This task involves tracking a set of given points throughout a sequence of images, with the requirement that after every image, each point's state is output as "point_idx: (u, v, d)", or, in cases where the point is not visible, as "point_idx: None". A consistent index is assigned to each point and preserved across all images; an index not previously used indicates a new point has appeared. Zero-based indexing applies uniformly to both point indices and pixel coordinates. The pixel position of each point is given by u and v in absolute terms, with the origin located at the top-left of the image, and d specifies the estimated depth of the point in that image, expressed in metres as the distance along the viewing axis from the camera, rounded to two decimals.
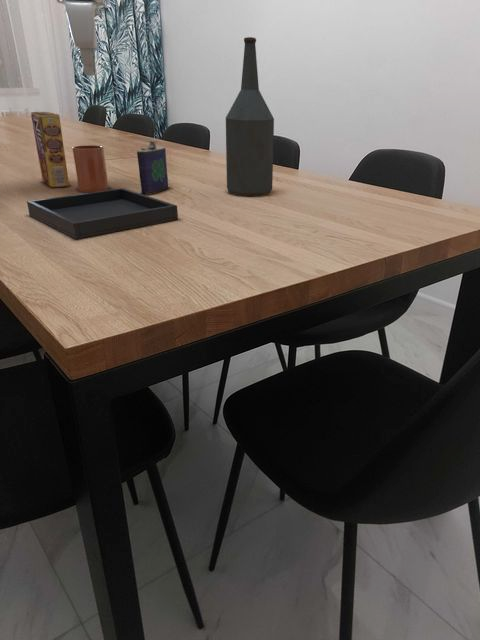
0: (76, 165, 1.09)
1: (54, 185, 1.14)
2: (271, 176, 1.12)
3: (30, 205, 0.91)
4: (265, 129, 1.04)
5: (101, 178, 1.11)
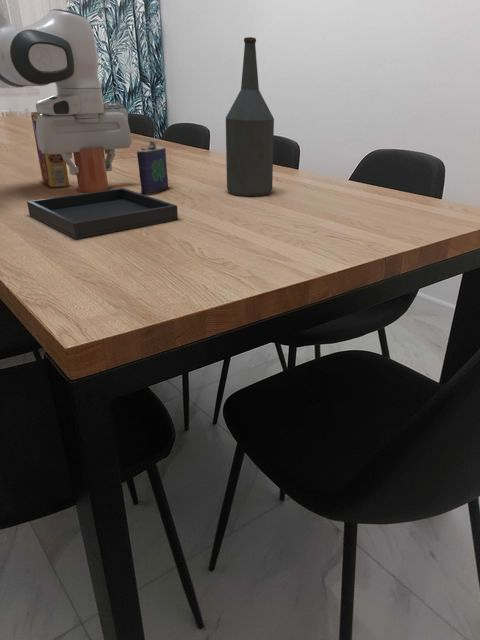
0: (76, 165, 1.09)
1: (54, 185, 1.14)
2: (271, 176, 1.12)
3: (30, 205, 0.91)
4: (265, 129, 1.04)
5: (101, 178, 1.11)
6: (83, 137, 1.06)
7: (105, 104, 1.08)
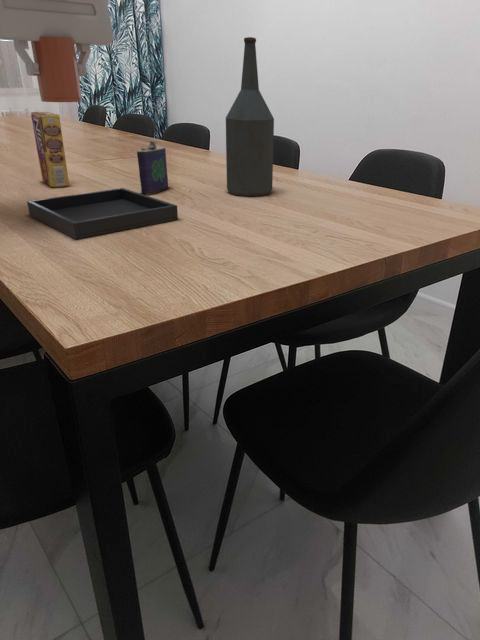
0: (36, 62, 0.79)
1: (54, 185, 1.14)
2: (271, 176, 1.12)
3: (30, 205, 0.91)
4: (265, 129, 1.04)
5: (71, 82, 0.81)
6: (43, 20, 0.76)
7: None
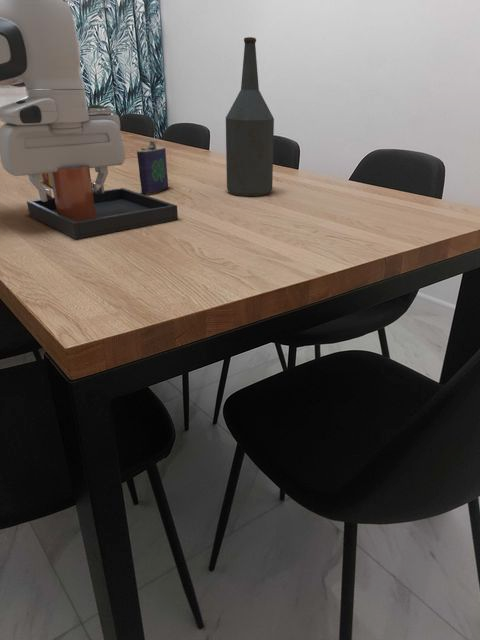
0: (54, 189, 0.85)
1: None
2: (271, 176, 1.12)
3: (30, 205, 0.91)
4: (265, 129, 1.04)
5: (86, 205, 0.86)
6: (61, 153, 0.82)
7: (90, 110, 0.84)
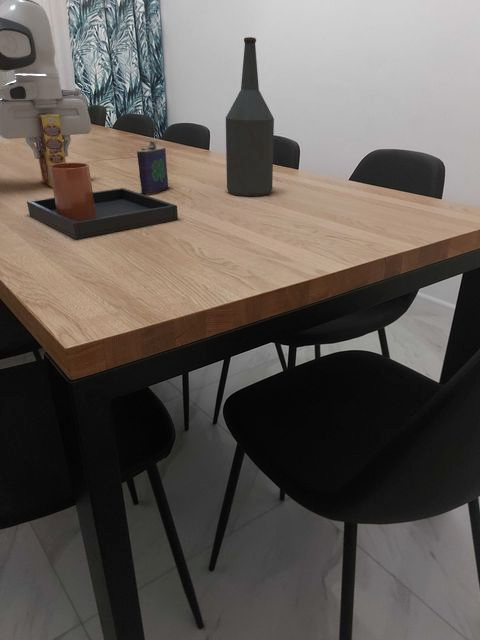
0: (54, 189, 0.85)
1: None
2: (271, 176, 1.12)
3: (30, 205, 0.91)
4: (265, 129, 1.04)
5: (86, 205, 0.86)
6: None
7: (64, 91, 1.12)
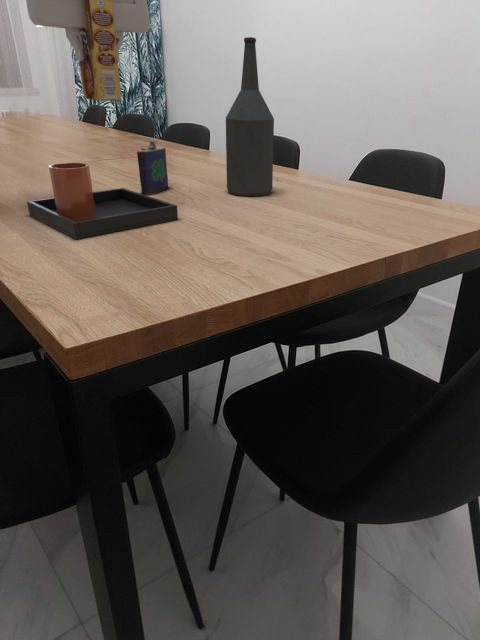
0: (54, 189, 0.85)
1: (102, 97, 0.85)
2: (271, 176, 1.12)
3: (30, 205, 0.91)
4: (265, 129, 1.04)
5: (86, 205, 0.86)
6: None
7: None
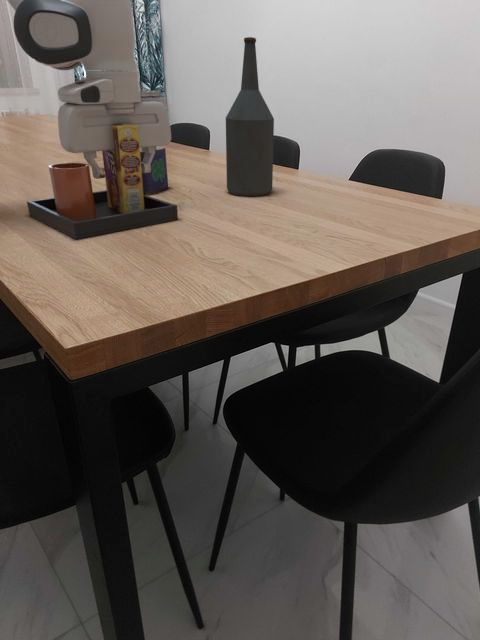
0: (54, 189, 0.85)
1: None
2: (271, 176, 1.12)
3: (30, 205, 0.91)
4: (265, 129, 1.04)
5: (86, 205, 0.86)
6: None
7: (141, 91, 0.88)
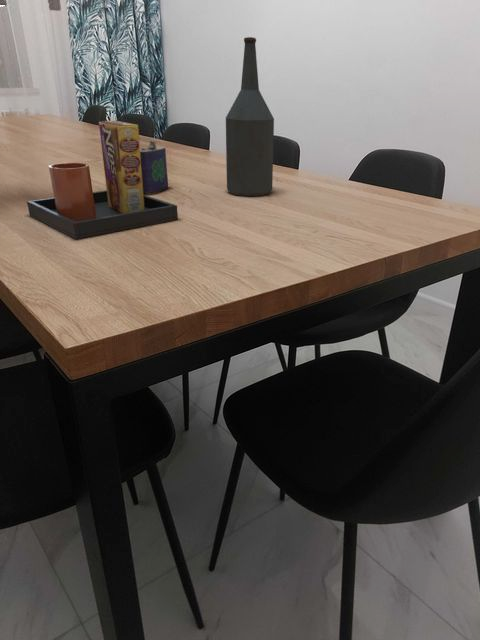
0: (54, 189, 0.85)
1: None
2: (271, 176, 1.12)
3: (30, 205, 0.91)
4: (265, 129, 1.04)
5: (86, 205, 0.86)
6: None
7: None
